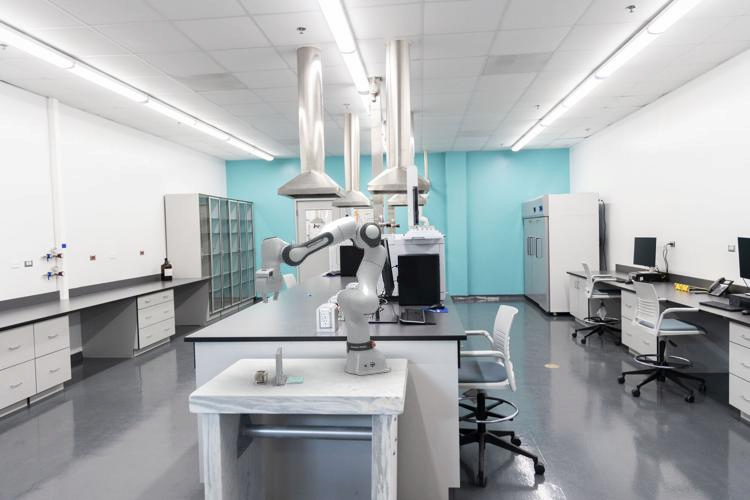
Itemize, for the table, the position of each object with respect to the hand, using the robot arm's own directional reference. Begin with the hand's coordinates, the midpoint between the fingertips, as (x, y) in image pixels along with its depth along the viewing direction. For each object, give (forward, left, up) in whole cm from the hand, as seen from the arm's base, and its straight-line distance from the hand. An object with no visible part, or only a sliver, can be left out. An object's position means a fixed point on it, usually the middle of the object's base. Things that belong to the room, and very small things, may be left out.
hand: (270, 301), depth 211 cm
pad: (-11, +7, -36) cm, 38 cm away
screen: (-4, +6, -36) cm, 36 cm away
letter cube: (+4, +7, -36) cm, 37 cm away
